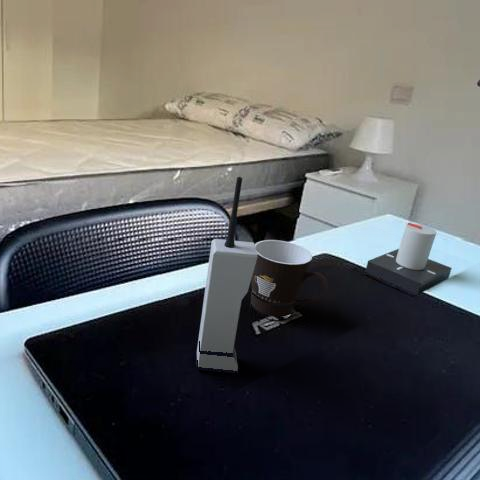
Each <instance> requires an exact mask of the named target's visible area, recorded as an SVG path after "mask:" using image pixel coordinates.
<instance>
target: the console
mask: <svg viewBox="0 0 480 480" xmlns="http://www.w3.org/2000/svg"><path fill="white" fill-rule="evenodd" d="M398 251H399V248H397V249H393V250H392V251H389V252H386V253H384V254H381V255H379V256H376V257H374V258H371V259H369V260H367V263H366V267H365V271H364V273H365V272H368V273H370V274H372V275H374V276H377V277H379V278H381V279H383V280H386V281H388V282H390V283H393V284H395V285H397V286H399V287H402V288H404V289H406V290H408V291H411V292H413V293H415V294H417V296H418V294H419V295H421V294H422V293H424V292H426V291H429V290H430V289H432V288H433V287H435V286H438V285H440V284H442V283H443V282H445V281H447V280H449V278H450V274H451V272H452V269H453V267H450V266H448V265H445V264H443V263H441V262H437V261H436V260H433V259H430V258H428V260H427V263H426V266H425V268H424V269H423V270H414V269H409V268H406V267H403V266H401V265H399V264H398V263H397V262H396V257H397V254H398Z"/></svg>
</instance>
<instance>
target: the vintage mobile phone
mask: <svg viewBox="0 0 480 480" xmlns="http://www.w3.org/2000/svg"><path fill="white" fill-rule="evenodd" d="M242 183H243V177H241V176H237V177H236V180H235V189H234V195H233V201H232V208H231V214H230V217H229V222H228V228H227V234H226V239H222V238H221V239H220V238H214V239H212V240H211V243H210V244H211V245H210V249H209V250H210V252H209V258H208V266H207V272H206V280H205V287H204V294H203V295H204V296H203V303H202V310H201V316H200V317H201V318H200V325H199V333H198V340H197V347H196V361H197V360H198V367H202V368H213V369H223V370H233V371H237V372H238V369H239V366H238V360H237V359H238V357H237V352H236V349H235V343H236V342H235V341H236V336H237V330H238V323H239V318H240V312H241V307H242V300H243V299H244V297H245V296H246V295H247V294H248V293H249V289H250V285H251V283H252V275H253V271H254V268H255V264H256V260H257V257H258V254H257V251H256V248H255V242H251V241H243V240H235V236H236V230H237V223H238V210H239V204H240V197H241V192H242V191H241V189H242V185H243V184H242ZM199 341H200V351H207V352H208V351H211V352H223V353H226V352H227V353H233V356H234V357H227V356H217V355H207V354H200V352H199Z"/></svg>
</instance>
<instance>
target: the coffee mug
mask: <svg viewBox="0 0 480 480" xmlns="http://www.w3.org/2000/svg"><path fill="white" fill-rule="evenodd" d="M254 245H255V248H256V251H257V254H258V257H257V260H256V264H255V268H254V271H253V275H252V278H251V289H252V291H251V290H250V305H251V304H252V306H253V307H254V308H255V309H256V310H258V311H259V312H261V313H264V314H267V315H271V316H286V315H289V314H291V313H292V314H293V312H292V311H294V308H295V306H296V305H297V304H295V303H293V304H291V305H286V306H278V305H272V304H268V303H265V302H262V301H261V300H259V299H257V298H256V297H255V296H254V295H253V294H252V292H253V293H254V294H255V295H256V296H258V297H260V298H261V299H263V300H266V301H268V302H273V303H280V304H282V303H290V302H293V301H296V302H299V304H305V303H311V302H316V301H318V300H321V299H323V298H324V297H326V296H327V295H328V294H329V292H330V282H329V280H328V278H327V277H326V276H325V275H323V274H322V273H320V272H317V271H309V267H310V265H311V262H312V259H313V254H312V253H311V252H310V251H309V250H308V249H307V248H305V247H304V246H301V245H299V244H296V243H293V242H290V241H286V240H278V239H265V240H260V241H258V242H255V243H254ZM310 277H317V278H318V279H320V280H321V281H322V282H323V284H324V291H323V293H321V294H320V295H317V296H314V297H308V298H307V297H306V298H300V299H298V297H299V295H300V292H301V289H302V287H303V284H304V282H305V281H307V279H308V278H310ZM296 299H297V300H296ZM292 314H291V315H292Z"/></svg>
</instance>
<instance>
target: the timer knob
mask: <svg viewBox="0 0 480 480" xmlns="http://www.w3.org/2000/svg"><path fill="white" fill-rule="evenodd" d="M436 235H437V230H435V229H434V228H432V227H430V226H427V225H423V224H420V223H413V222H407V224H406V225H405V228H404V231H403V233H402V237H401V241H400V244H399V248H398V249H399V251H398V254H397V257H396V262H397V263H398V264H399V265H401V266H403V267H406V268H409V269H414V270H423V269H424V268H425V266H426V263H427V260H428V259H429V257H430V254H431V250H432V248H433V245H434V242H435V239H436Z"/></svg>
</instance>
